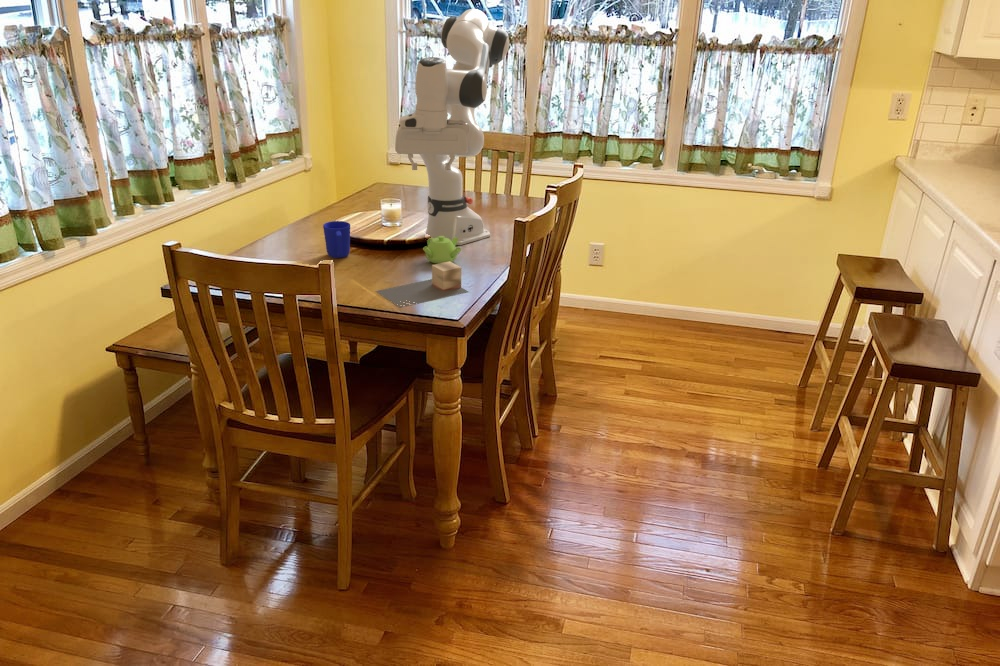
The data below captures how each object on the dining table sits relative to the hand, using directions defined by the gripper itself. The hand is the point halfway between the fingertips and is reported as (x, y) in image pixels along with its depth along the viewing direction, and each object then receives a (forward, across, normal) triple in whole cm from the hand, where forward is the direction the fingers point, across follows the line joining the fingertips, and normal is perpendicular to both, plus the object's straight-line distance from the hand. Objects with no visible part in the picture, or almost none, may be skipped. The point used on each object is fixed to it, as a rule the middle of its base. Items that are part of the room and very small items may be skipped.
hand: (431, 169), depth 227 cm
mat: (+31, +4, +16) cm, 35 cm away
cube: (+31, -4, +12) cm, 33 cm away
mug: (+31, +27, -16) cm, 44 cm away
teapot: (+31, -4, -8) cm, 32 cm away
